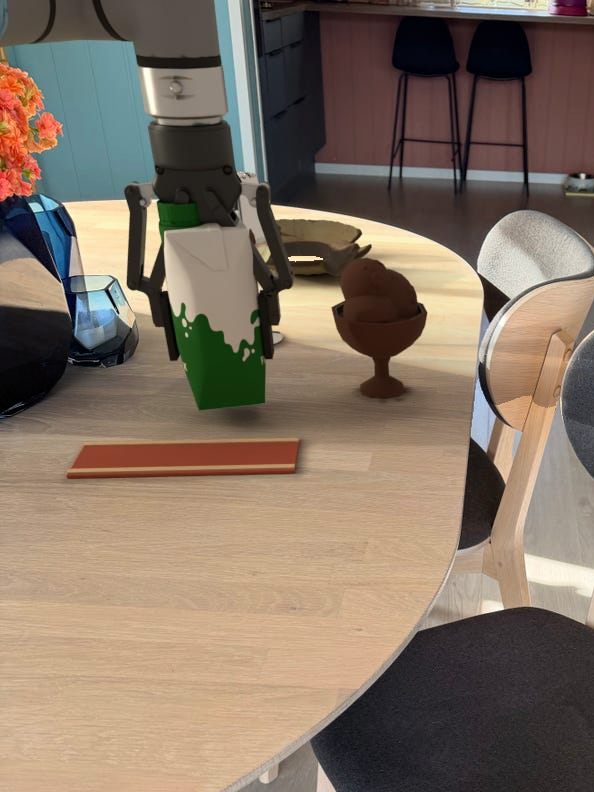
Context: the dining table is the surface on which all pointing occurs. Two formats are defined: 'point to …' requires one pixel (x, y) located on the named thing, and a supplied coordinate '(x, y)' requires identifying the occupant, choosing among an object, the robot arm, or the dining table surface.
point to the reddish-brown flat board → (185, 457)
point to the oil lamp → (320, 245)
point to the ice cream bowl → (378, 320)
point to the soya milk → (214, 307)
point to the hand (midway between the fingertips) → (223, 355)
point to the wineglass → (254, 227)
